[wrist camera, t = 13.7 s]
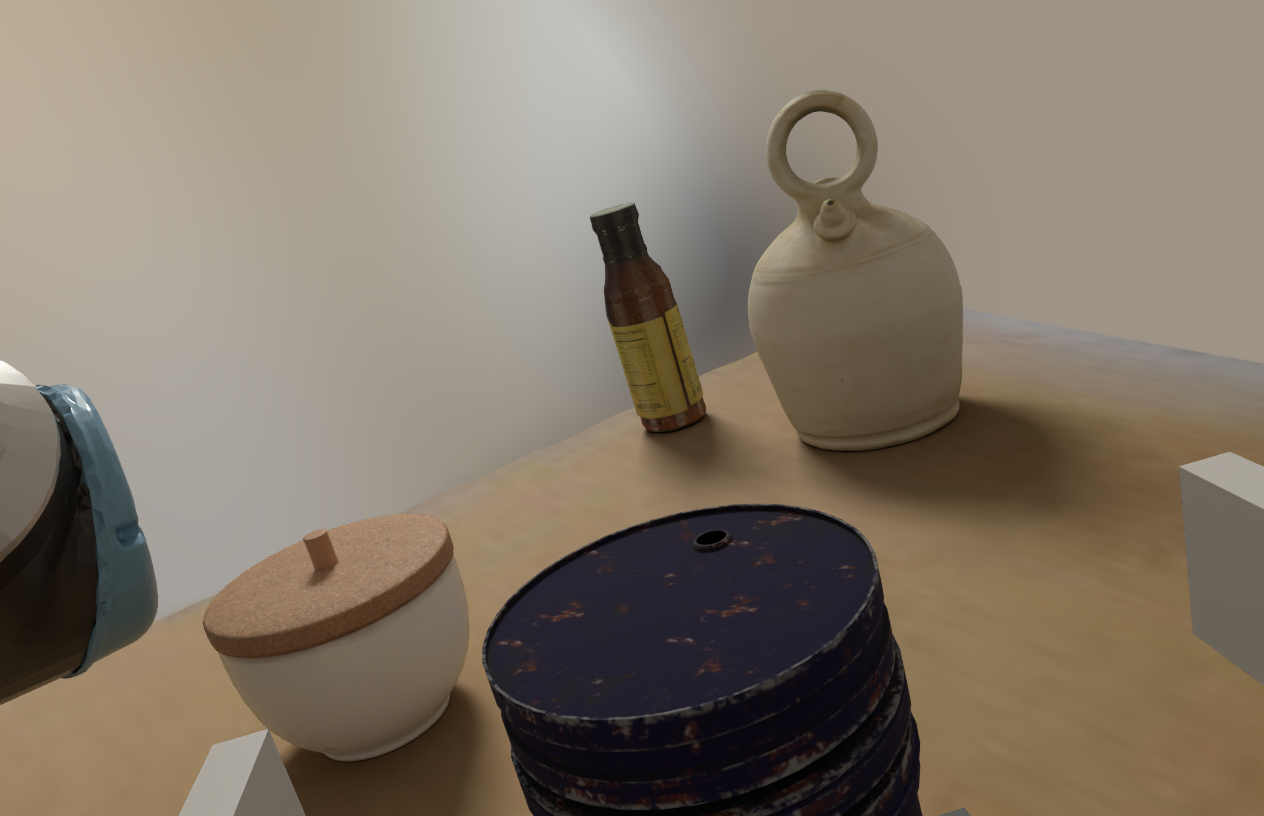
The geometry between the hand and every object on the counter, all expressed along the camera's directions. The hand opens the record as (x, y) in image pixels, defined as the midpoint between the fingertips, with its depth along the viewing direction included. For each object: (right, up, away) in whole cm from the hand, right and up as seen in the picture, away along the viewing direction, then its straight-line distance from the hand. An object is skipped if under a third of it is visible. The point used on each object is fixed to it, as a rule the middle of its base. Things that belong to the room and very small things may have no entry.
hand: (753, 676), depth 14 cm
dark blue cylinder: (+3, -15, +14) cm, 20 cm away
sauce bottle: (+2, +2, +74) cm, 74 cm away
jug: (+17, +2, +61) cm, 63 cm away
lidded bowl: (-15, -13, +38) cm, 43 cm away
